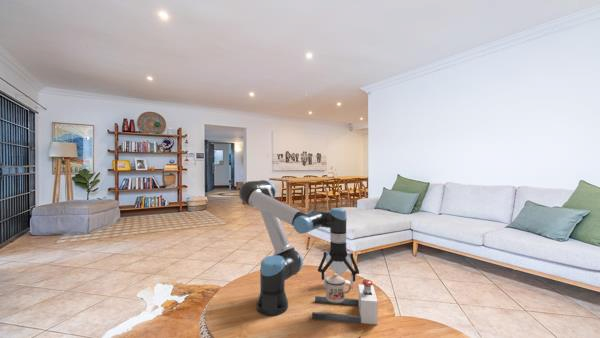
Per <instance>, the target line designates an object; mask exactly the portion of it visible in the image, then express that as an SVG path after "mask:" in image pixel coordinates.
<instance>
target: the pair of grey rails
mask: <svg viewBox="0 0 600 338" xmlns="http://www.w3.org/2000/svg"><path fill="white" fill-rule="evenodd" d="M314 302H315V303H321V304H322V303H324V304H333V305H334V304H336V305H348V306H359V300H358V298H350V297H349V298H347V297H345V299H344V301H343V302H340V303H333V302H330V301H328V300H327V299H326V296H321V295H319V296H318V295H315V296H314ZM311 320H320V321H321V320H322V321H332V322H341V323H342V322H343V323H352V324H353V323H354V324H356V323H357V324H362V323H361V316H360V315H352V314H342V313H341V314H339V313H329V312H328V313H327V312H315V311H314V312H313V311H312V312H311Z"/></svg>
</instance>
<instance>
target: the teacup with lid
mask: <svg viewBox="0 0 600 338" xmlns="http://www.w3.org/2000/svg"><path fill="white" fill-rule="evenodd" d="M345 280H346V279H345V278H344V277H342V276H341V277H340V276H338V275H337V273H336V272H334V273H333V274H332V275H329V276H326V288H325V297H326V299H327V300H328V301H330V302H333V303H340V302H343V301H344V299H345V298H346V297H345V294H348V293H350V291H351V290H352V289H351V283H350V284H349V283H345ZM346 285H347V286H348V287H349V288H348V289H347V290H346V291H345V289H346V288H345V286H346ZM333 303H332V304H333Z"/></svg>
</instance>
